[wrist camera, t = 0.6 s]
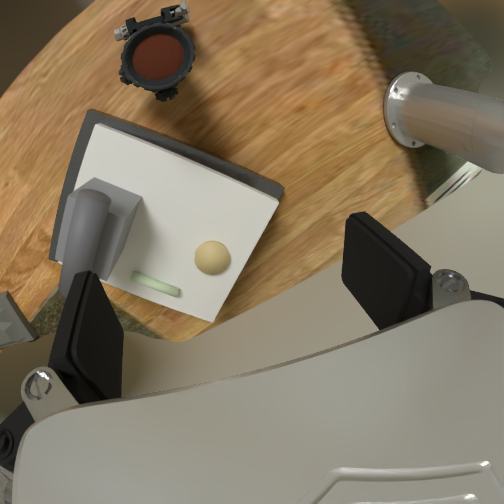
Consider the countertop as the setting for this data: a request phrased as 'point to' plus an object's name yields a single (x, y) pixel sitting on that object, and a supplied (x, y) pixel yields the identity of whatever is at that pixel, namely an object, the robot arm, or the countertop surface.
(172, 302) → the leveling plate
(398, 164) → the countertop surface
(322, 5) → the countertop surface
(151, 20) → the scope
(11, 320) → the soap mold
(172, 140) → the leveling base
